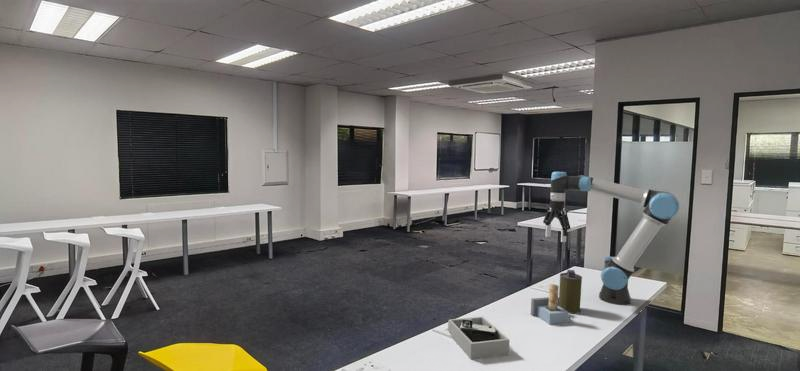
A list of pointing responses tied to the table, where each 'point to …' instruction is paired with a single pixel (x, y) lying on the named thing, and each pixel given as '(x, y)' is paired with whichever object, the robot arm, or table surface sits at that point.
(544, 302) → the wall
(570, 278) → the canister
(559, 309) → the block
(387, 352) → the table surface
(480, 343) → the tray
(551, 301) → the dowel
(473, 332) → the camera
